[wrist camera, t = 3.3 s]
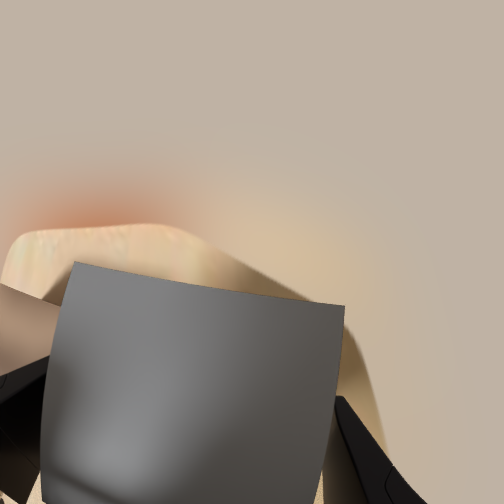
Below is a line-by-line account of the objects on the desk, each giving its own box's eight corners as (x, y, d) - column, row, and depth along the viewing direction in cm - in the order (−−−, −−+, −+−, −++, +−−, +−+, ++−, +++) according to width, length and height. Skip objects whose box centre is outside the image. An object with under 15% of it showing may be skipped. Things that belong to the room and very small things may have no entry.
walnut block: (99, 466, 13) (62, 483, 8) (19, 420, 13) (-21, 420, 9) (120, 329, 16) (83, 314, 12) (38, 302, 17) (0, 283, 13)
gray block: (279, 520, 7) (289, 576, 3) (98, 475, 8) (42, 500, 4) (313, 330, 10) (345, 306, 7) (127, 298, 11) (74, 261, 7)
